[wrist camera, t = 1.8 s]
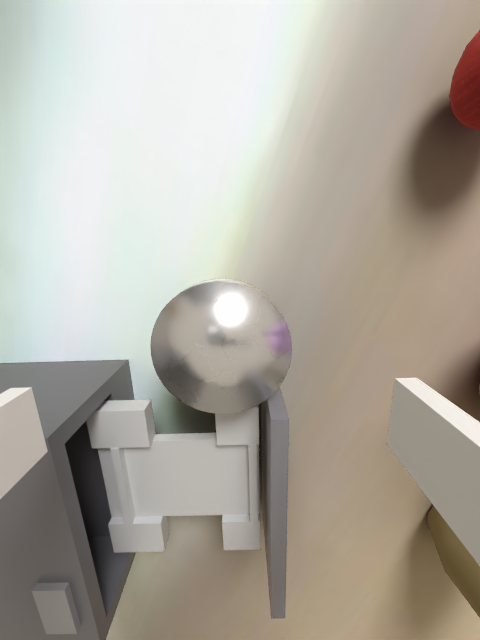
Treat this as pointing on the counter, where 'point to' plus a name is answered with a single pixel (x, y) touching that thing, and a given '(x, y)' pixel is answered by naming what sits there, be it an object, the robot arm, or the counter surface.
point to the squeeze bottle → (456, 559)
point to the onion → (467, 86)
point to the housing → (62, 511)
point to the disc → (221, 346)
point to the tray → (197, 479)
